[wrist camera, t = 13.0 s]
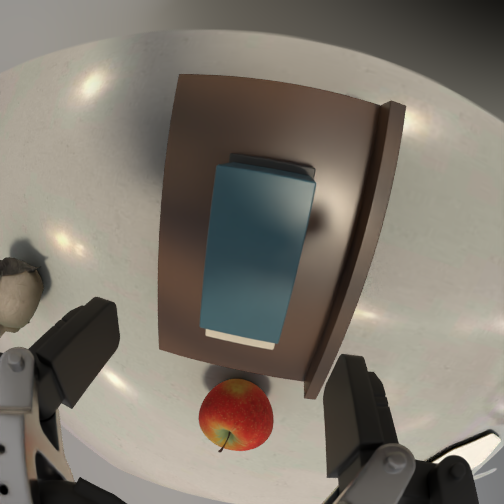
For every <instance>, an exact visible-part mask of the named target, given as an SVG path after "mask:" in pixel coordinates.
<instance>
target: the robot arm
mask: <svg viewBox="0 0 504 504" xmlns="http://www.w3.org/2000/svg"><path fill="white" fill-rule="evenodd" d="M119 341H120V333H119V325H118V317H117V308H116V304H115V303H114V302H112V301H109V300H106V299H103V298H100V297H94V298H93V299H92V300H90V301H89V302H88V303H87V304H86V305H85V306H80V307H78V308H75V309H73V310H71V311H70V312H68V313H67V314H66V315H65V316H64V317H63V318H62V320H59V321H58V322H57V323H56V324H55V326H53V327H52V328H50V329H49V330H48V331H47V332H46V333H45V334H44V335H43V336H42V337H41V338H40V339H39V340H38V341H36V342H35V343H34V344H33V345H32V346H31V347H30V348H29V349H26V348H23V347H15V348H11V349H9V350H7V351H6V352H4V353H0V504H127V503H125V502H124V501H122V500H121V499H120V498H118V497H117V496H115V495H114V494H112V493H110V492H108V491H106V490H103V489H101V488H99V487H98V486H96V485H94V484H92V483H90V482H88V481H86V480H84V479H82V478H81V477H80V478H79V479H78V481H77V483H76V482H74V478H73V475H72V472H71V469H70V467H69V465H68V463H67V460H66V458H65V454H64V448H63V441H62V434H61V425H60V415H59V410H58V407H59V406H60V404H61V403H62V404H64V405H66V406H68V407H69V408H71V409H72V408H73V407H74V406H75V404H76V403H77V402H78V400H79V399H80V397H81V396H82V395H83V393H84V392H85V391H86V389H87V388H88V387H89V385H90V384H91V383H92V381H93V380H94V379H95V377H96V376H97V375H98V373H99V372H100V371H101V369H102V368H103V367H104V365H105V364H106V363H107V361H108V360H109V359H110V357H111V356H112V355H113V354H114V352H115V351H116V349H117V347H118V345H119ZM385 395H386V394H385V390H384V387H383V384H382V382H381V381H380V379H379V378H378V377H377V375H376V374H375V373H374V372H368V371H367V367H366V363H365V360H364V358H363V357H362V356H355V355H347V354H341V355H340V356H339V358H338V360H337V362H336V365H335V367H334V369H333V371H332V373H331V375H330V377H329V379H328V381H327V383H326V386H325V390H324V395H323V405H324V420H325V438H326V462H327V478H338V482H339V485H338V486H337V487H336V488H335V489H334V491H333V492H332V493H331V494H330V495H329V496H328V497H327V498H326V500H325V501H324V502H323V503H322V504H479V502H478V497H477V492H476V487H475V483H474V479H473V475H472V471H471V468H470V465H469V463H468V462H467V461H466V460H465V459H464V458H463V457H461V456H458V455H450V456H447V457H445V458H444V459H443V460H442V461H440V462H439V463H438V464H437V463H431V462H425V461H420V460H416V459H415V458H414V456H413V454H412V453H411V451H410V450H409V449H408V448H406V447H405V446H403V445H400V444H399V443H398V439H397V435H396V431H395V427H394V423H393V419H392V415H391V412H390V408H389V407H388V401H387V397H385Z"/></svg>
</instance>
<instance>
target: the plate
mask: <svg viewBox="0 0 504 504" xmlns="http://www.w3.org/2000/svg"><path fill="white" fill-rule="evenodd" d="M500 441H501V439H500V438H499V437H498V436H496V435H495V434H494V433H489V434H487V435H485V436H483V437H481V438H478V439H476V440H474V441H471V442H469V443H467V444H464V445H462V446H459V447H456V448H454V449H452V450H450V451H448V452H447V453H445V454H443V455H442V456H440V457H439V458H437V459H435V460H434V461H432V462H431V463H437V464H438V463H439V462H440V461H442V460H443V459H444V458H445V457H447V456H450V455H458V456H461V457H463V458H464V459H465V460H466V461H467V462H468V463H469V465H470V468H471V470H472V469H473V468H475V467H476V466H478V465H479V464H481V463H482V462H483V461H484V460H485V459H486V458H487V457H488V456H489V455H490V453H491V452H492V451H493V450H494V449H495V448H496V446H497V445H498V444H499V443H500Z"/></svg>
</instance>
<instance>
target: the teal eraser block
mask: <svg viewBox="0 0 504 504" xmlns="http://www.w3.org/2000/svg"><path fill="white" fill-rule="evenodd" d="M315 171H316V169H315V168H314V167H310V166H305V165H300V164H295V163H290V162H285V161H280V160H274V159H268V158H262V157H256V156H250V155H243V154H237V153H231V154H230V157H229V163H225V164H220V165H217V166H216V173H215V180H214V188H213V195H212V203H211V211H210V220H209V228H208V237H207V246H206V256H205V266H204V276H203V287H202V299H201V311H200V324H199V326H200V327H201V328H205V329H206V333H205V335H206V336H209V337H213V338H218V339H222V340H226V341H231V342H235V343H240V344H245V345H250V346H255V347H260V348H265V349H270V350H273V349H274V346H275V344H278V343H279V339H280V336H281V332H282V329H283V325H284V321H285V317H286V314H287V310H288V306H289V302H290V298H291V294H292V290H293V286H294V282H295V278H296V274H297V270H298V266H299V262H300V258H301V253H302V249H303V245H304V240H305V236H306V231H307V227H308V222H309V218H310V213H311V208H312V204H313V199H314V194H315V189H316V182H315V181H314V176H315Z"/></svg>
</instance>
